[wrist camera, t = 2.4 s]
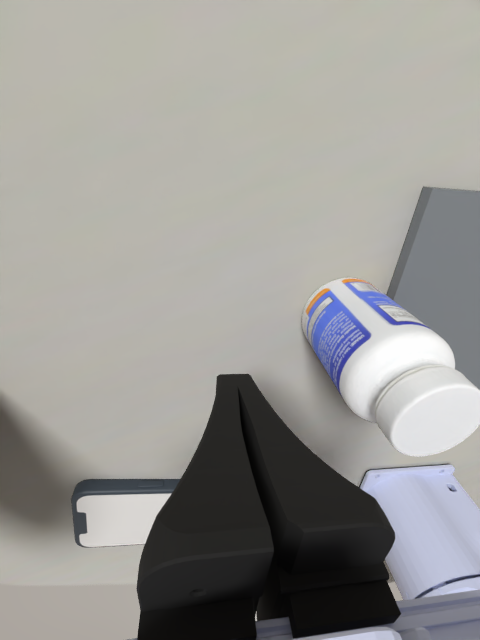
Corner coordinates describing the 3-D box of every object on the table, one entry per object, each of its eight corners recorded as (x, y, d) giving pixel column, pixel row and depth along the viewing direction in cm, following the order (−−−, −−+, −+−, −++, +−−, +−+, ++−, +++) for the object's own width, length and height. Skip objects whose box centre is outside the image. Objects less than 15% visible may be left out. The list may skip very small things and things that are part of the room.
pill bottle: (313, 357, 22) (385, 485, 14) (288, 297, 20) (358, 411, 11) (384, 326, 22) (505, 440, 13) (369, 259, 19) (507, 350, 11)
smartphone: (259, 471, 29) (75, 474, 26) (262, 488, 28) (69, 492, 24) (240, 523, 33) (80, 531, 30) (242, 540, 32) (75, 550, 28)
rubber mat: (624, 202, 19) (640, 204, 19) (500, 395, 27) (508, 401, 26) (423, 186, 17) (432, 188, 16) (350, 400, 25) (355, 407, 24)
